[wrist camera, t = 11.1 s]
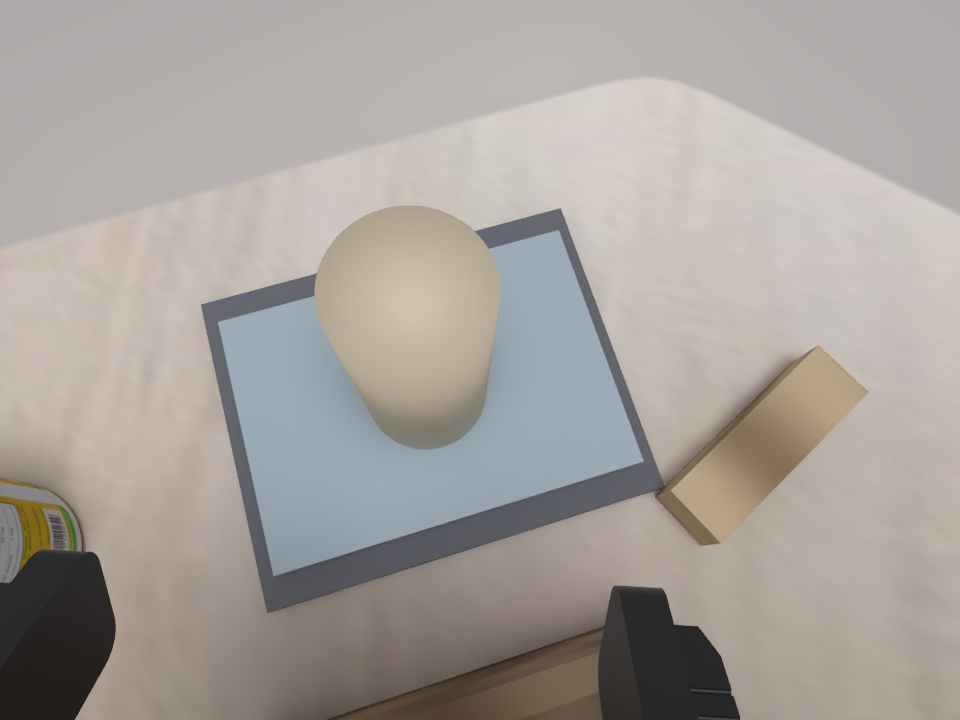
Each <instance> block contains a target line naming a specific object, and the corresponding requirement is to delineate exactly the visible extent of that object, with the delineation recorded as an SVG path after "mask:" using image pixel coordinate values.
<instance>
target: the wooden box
mask: <svg viewBox="0 0 960 720" xmlns="http://www.w3.org/2000/svg"><path fill="white" fill-rule="evenodd" d="M603 631H604V627H602V628H599V629H596V630H593V631H590V632H587V633H584V634H581V635H578V636H575V637H572V638H569V639H566V640H563V641H560V642H557V643H555V644H552V645H549V646H546V647H543V648H540V649H537V650H534V651H531V652H528V653H525V654H522V655H519V656H516V657H513V658H510V659H507V660H504V661H501V662H498V663H495V664H492V665H489V666H486V667H483V668H480V669H477V670H474V671H471V672H468V673H465V674H462V675H459V676H456V677H453V678H450V679H447V680H444V681H441V682H438V683H435V684H432V685H429V686H426V687H423V688H420V689H417V690H414V691H411V692H408V693H405V694H402V695H399V696H396V697H393V698H390V699H388V700H385V701H382V702H379V703H376V704H373V705H370V706H367V707H364V708H361V709H358V710H355V711H352V712H349V713H346V714H343V715H340V716H337V717H334V718H331V719H328V720H603V718H602V711H601V703H600V696H599V685H598V662H599V652H600V646H601V641H602V636H603Z"/></svg>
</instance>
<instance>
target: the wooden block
mask: <svg viewBox="0 0 960 720" xmlns="http://www.w3.org/2000/svg"><path fill="white" fill-rule="evenodd" d="M867 393H868V391H867V390H866V389H865V388H863V387H862V386H861V385H860V384H859V383H858V382H857V381H856V380H855V379H854V378H853V377H852V376H851V375H850V374H849V373H847V372H846V371H845V370H844V369H843V368H842V367H841V366H840V365H839V364H838V363H837V362H836V361H835V360H834V359H833V358H831V357H830V356H829V355H828V354H827V353H826V352H825V351H824V350H823V349H822V348H821V347H820V346H819V345H818V346H817V347H815V348H814V349H812V350H811V351H809V352H807V353H806V354H804V355H803V356H801V357H800V358H798V359H796V360H795V361H793V362H792V363H791V364H790V365H789V366H788V367H787V368H786V369H785V370H784V371H783V372H782V373H781V374H780V375H779V376H778V377H777V378H776V379H775V380H774V381H773V382H772V383H771V384H770V385H769V386H768V387H767V388H766V389H765V390H764V391H763V392H762V393H761V394H760V395H759V396H758V397H756V398H755V399H754V400H753V401H752V402H751V403H750V404H749V405H748V406H747V407H746V408H745V409H744V410H743V411H742V412H741V413H740V414H739V415H738V416H737V417H736V418H735V419H734V420H733V421H732V422H731V423H730V424H729V425H728V426H727V427H726V428H725V429H724V430H723V431H722V432H721V433H720V434H719V435H718V436H717V437H716V438H715V439H713V440H712V441H711V442H710V443H709V444H708V445H707V446H706V447H705V448H704V449H703V450H702V451H701V452H700V453H699V454H698V455H697V456H696V457H695V458H694V459H693V460H692V461H691V462H690V463H689V464H688V465H687V466H686V467H685V468H684V469H683V470H682V471H681V472H680V473H679V474H678V475H677V476H676V477H675V478H674V479H673V480H672V481H670V482H669V483H668V484H667V485H666V486H665V487H664V488H663V489H662V490H661V491H660V492H659V493H658V494H657V495H656V496H655V497H656V498H657V499H658V500H659V501H660V503H661V504H662V505H663V506H664V507H665V508H666V509H667V510H668V511H669V512H670V513H671V514H672V515H673V516H674V517H675V518H676V519H677V520H678V522H679V523H680V524H681V525H682V526H683V527H684V528H685V529H686V530H687V531H688V532H689V533H690V534H691V535H692V536H693V537H694V538H695V539H696V540H697V542H698V543H699V544H700V545H710V544H719V543H722V542H723V541H724V540H725V539H726V538H727V537H728V536H729V534H730V533H731V532H732V531H733V530H734V529H735V528H736V527H737V526H738V525H739V524H740V523H741V522H742V521H743V520H744V519H745V518H746V517H747V516H748V515H749V514H750V513H751V512H752V511H753V510H754V509H755V508H756V507H757V506H758V505H759V504H760V503H761V502H762V501H763V500H764V499H765V498H766V497H767V496H768V495H769V494H770V493H771V492H772V490H773V489H774V488H775V487H776V486H777V485H778V484H779V483H780V482H781V481H782V480H783V479H784V478H785V477H786V476H787V475H788V474H789V473H790V472H791V471H792V470H793V469H794V468H795V467H796V466H797V465H798V464H799V463H800V462H801V461H802V460H803V459H804V458H805V457H806V456H807V455H808V454H809V453H810V452H811V451H812V450H813V449H814V448H815V446H816V445H817V444H818V443H819V442H820V441H821V440H822V439H823V438H824V437H825V436H826V435H827V434H828V433H829V432H830V431H831V430H832V429H833V428H834V427H835V426H836V425H837V424H838V423H839V422H840V421H841V420H842V419H843V418H844V417H845V416H846V415H847V414H848V413H849V412H850V411H851V410H852V409H853V408H854V407H855V406H856V405H857V404H858V402H859V401H860V400H861V399H862V398H863V397H864V396H865V395H866V394H867Z"/></svg>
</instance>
